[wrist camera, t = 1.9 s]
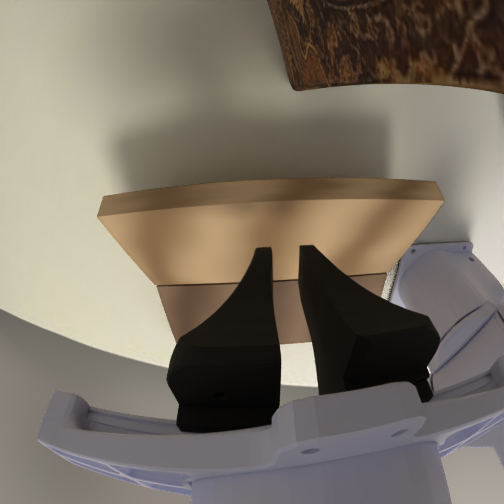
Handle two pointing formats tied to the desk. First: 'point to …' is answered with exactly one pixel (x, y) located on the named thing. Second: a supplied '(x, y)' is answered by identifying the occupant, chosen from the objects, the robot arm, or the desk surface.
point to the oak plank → (268, 225)
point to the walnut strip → (215, 294)
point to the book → (391, 42)
